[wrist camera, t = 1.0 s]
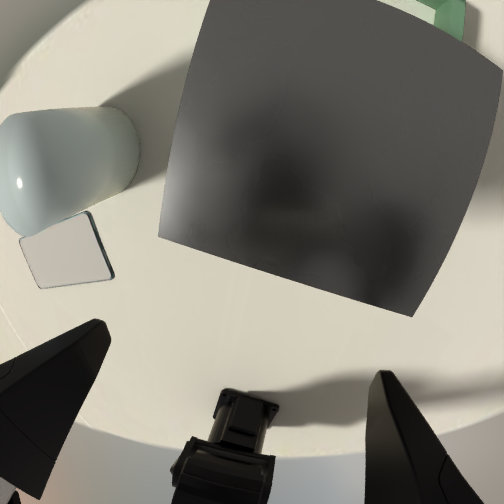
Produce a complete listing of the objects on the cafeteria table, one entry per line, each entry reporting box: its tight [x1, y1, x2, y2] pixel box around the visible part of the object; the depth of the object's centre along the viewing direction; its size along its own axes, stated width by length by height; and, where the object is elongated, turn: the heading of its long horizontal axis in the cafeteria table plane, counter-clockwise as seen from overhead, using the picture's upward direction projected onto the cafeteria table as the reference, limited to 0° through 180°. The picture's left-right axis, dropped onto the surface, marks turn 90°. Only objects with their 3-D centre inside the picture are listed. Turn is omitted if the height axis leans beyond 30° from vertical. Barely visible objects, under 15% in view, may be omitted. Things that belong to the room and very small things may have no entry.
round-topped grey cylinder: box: [0, 107, 140, 237], centre depth 16 cm, size 8×8×9 cm
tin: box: [158, 0, 503, 317], centre depth 12 cm, size 8×8×12 cm
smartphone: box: [19, 211, 114, 289], centre depth 26 cm, size 7×1×15 cm
